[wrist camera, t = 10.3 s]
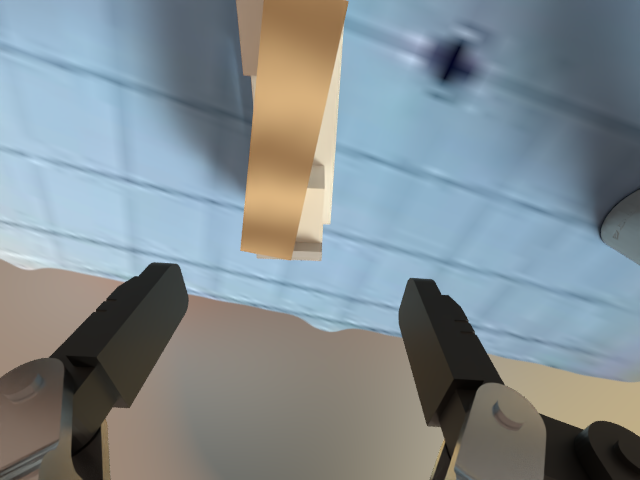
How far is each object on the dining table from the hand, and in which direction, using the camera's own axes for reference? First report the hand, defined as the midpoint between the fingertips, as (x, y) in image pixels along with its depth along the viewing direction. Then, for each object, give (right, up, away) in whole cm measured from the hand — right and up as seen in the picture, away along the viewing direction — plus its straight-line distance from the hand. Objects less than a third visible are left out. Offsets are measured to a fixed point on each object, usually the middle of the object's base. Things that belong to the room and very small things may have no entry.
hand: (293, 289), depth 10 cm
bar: (-1, +9, +11) cm, 15 cm away
